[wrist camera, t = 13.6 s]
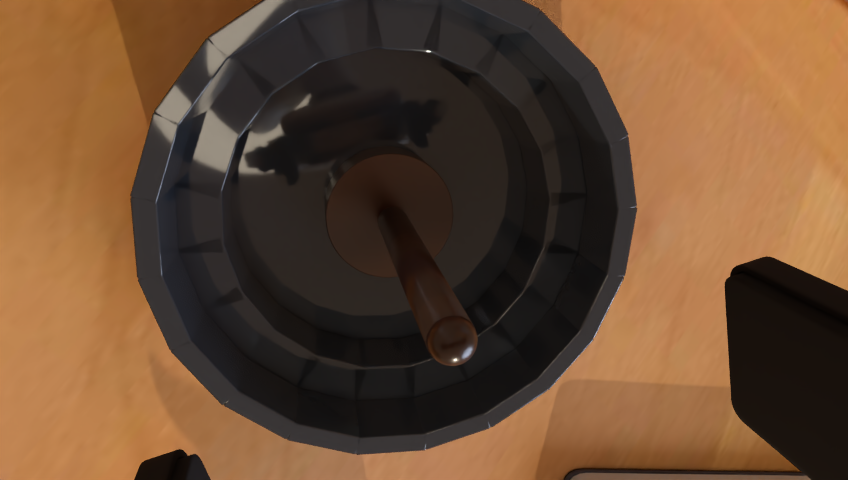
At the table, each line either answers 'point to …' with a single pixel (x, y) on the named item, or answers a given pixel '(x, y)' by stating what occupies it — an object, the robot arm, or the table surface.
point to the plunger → (401, 239)
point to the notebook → (680, 475)
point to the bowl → (306, 225)
